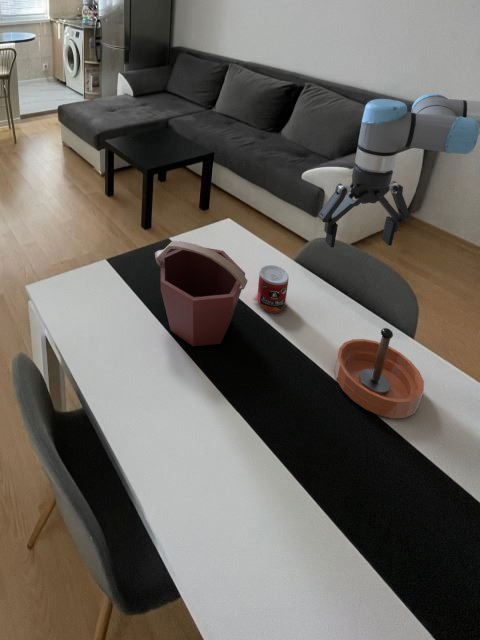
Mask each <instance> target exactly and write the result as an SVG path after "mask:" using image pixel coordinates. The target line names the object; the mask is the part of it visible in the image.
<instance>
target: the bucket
mask: <svg viewBox="0 0 480 640" xmlns="http://www.w3.org/2000/svg"><path fill="white" fill-rule="evenodd" d="M170 250H172V251H170ZM169 251H170V252H169ZM154 257H155V263H156V264H157V265H158V266H159V268H160V294H161V297H162V301H163V306H164V309H165V312H166V318H167V321H168V326H169V329H170V332H172V333H173V334H175V335H176V336H177V337H179V338H181V339H182V340H183V341H185V342H186V343H187V344H189V346H190V345H191V346H192V347H202V346H203V347H204V346H212V345H221V344H222V342H223V340H224V337H225V335H226V334H227V331H228V330H229V327H230V325H231V322H232V319H233V316H234V314H235V310H236V308H237V305H238V302H239V299H240V296H241V293H242V290H244V289H245V288H246V287H247V284H248V279H247V278H246V272H245V271H244V270H243V269H242V268H241V267H240V266H239V265H238V264H237V263H236V261H234V260H233V259H232V258H231V257H230V256H229V255H228V254H227V253H226V252H225V251H224V250H221V249H215V248H210V247H205V246H202V245H199V244H196V243H191V242H187V241H182V240H172V241H171V242H170V243H169V244H168V245H167V246H166V247H165V248H164V249H159V250H157V251H156V252H154Z"/></svg>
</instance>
